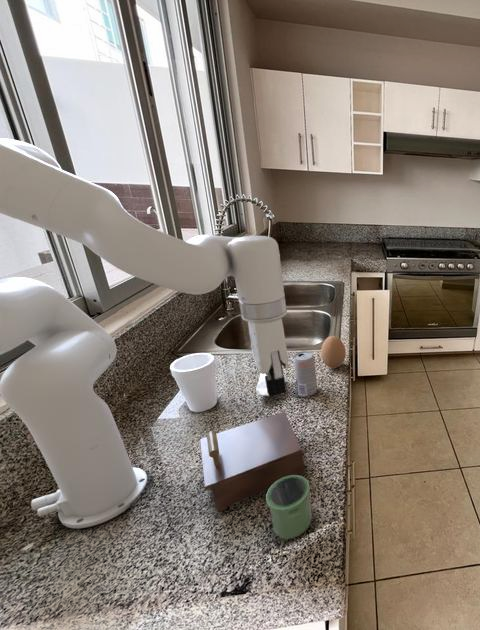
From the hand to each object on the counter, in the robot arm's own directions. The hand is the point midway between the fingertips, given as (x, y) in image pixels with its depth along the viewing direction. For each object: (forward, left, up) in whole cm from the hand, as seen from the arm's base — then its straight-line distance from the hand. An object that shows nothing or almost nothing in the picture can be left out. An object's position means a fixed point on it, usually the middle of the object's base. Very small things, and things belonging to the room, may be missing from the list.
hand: (276, 392), depth 68 cm
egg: (+23, +32, -17) cm, 43 cm away
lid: (-6, 0, -11) cm, 12 cm away
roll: (+2, +27, -17) cm, 32 cm away
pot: (-3, -16, -17) cm, 24 cm away
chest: (-6, 0, -17) cm, 18 cm away
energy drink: (+11, +22, -17) cm, 30 cm away
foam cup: (-14, +31, -17) cm, 38 cm away
